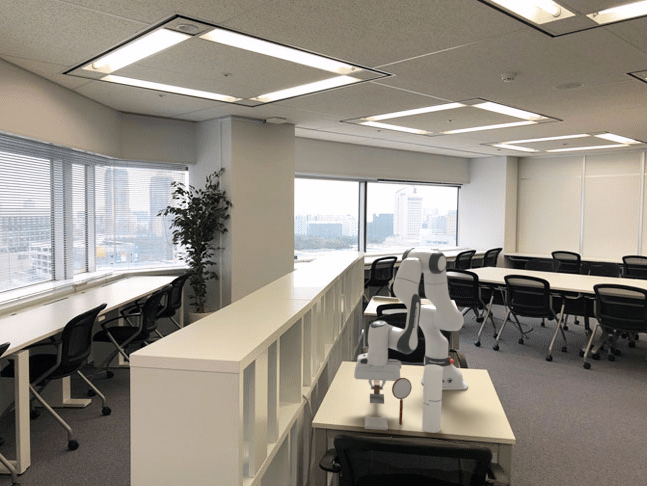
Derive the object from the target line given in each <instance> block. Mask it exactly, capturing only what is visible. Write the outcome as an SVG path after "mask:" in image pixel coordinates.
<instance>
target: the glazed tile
mask: <svg viewBox="0 0 647 486" xmlns="http://www.w3.org/2000/svg"><path fill="white" fill-rule="evenodd" d="M365 429H366V430H380V431H381V430H382V431H383V430H384V431H388V417H378V416H364V430H365Z"/></svg>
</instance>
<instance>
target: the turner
mask: <svg viewBox="0 0 647 486" xmlns="http://www.w3.org/2000/svg"><path fill="white" fill-rule="evenodd" d="M380 381H381V380H373V385H374V390H373V393H369V404H379V405H380V404H381V405H384V404H385V394H384V393H381V392H380V391H381V390H380V385H381V384H380Z"/></svg>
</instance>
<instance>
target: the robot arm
mask: <svg viewBox="0 0 647 486" xmlns="http://www.w3.org/2000/svg"><path fill="white" fill-rule="evenodd" d="M447 261H448V260H447V258H446V255H445V254H444V253H443V252H441V251H438V250H432V249H428V248H427V249H426V248H422V249H421V248H408V249H406V250H405V251H404V252H403V254H402V256H401V262H400V265H399V266H398V270H397V272H396V275H395V279H394V281H393V286H392V290H393V294H394V296H395V297H396V299H398V300H400V302H402V303H403V304H404V305H405V307H406V309H407V313H406V322H405V327H404V328H400V327H397V326H393V325H391V324H388V322H387V321H385V320H375V321H373V322H371V323H370V324H369V328H368V332H367V344H368V349H367V352H366V353H362V354H359V355H357V358H356V359H357V360H356V361H357V362H355V366H354V374H353V378H354V379H356V380H367V381H368V384H369V385H370V390H371V391H372V390H373V391H374V383H372V381H374V380H380V381H381V384H380V391H383V390H384V386H385V384H386V382H395V381H396V380H397V379H399V378H401V369H402V362H401V360H398V359H397V358H396V359H393V358H389V349H392V350H395V351H397V352H399V353H402V354H404V355H409V354H411V353H414V351H416V350H417V348H418V345H419V327H420V329H421V331H422V333H423V336H424V340H425V341H424V342H425V354H424V357H423V365H424V367H425V365H430V364H433V365H439V366H441V367H443V378H442V391H453V390H454V391H458V390H459V391H461V390H463V391H464V390H467V389H468V386H469V385H468V383H467V381H466V380H464V376H463V374H462V371H461V370H460V369H458V368H457V367H456V365H454V363H455V361H454V359H453V358H452V357H451V356H449V340H448V338H447V337H445V336H444V334H443V333H442V332H441V331H447V332H457V331H460V330H461V329H462V327H463V326H464V323H465V322H464V321H465V318H464V316H463V313H462V312H461V311H460V310H459V309H457V308H456V306H455V305H454V303H453V301H452V300H451V297H450V294H449V289H448V288H449V285H448V277H447V276H448V274H447V269H446V268H447V263H448V262H447ZM422 273H423V284H424V285H423V286H424V294H425V298H426V299H427V300H428V301H430V303H431V304H422V299H421V297H420V295H419V286H420V282H421V278H422ZM420 382H421V384H422V385H423V386H424V372H423V373H422V376H421V380H420Z"/></svg>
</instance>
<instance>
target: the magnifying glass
mask: <svg viewBox="0 0 647 486" xmlns="http://www.w3.org/2000/svg"><path fill="white" fill-rule="evenodd" d="M391 392H392V395H393V396H394V398H396V399H398V400H399V414H398V415H399V417H398V421H399V422H398V424H399V427H400V426H401V427H402V425H403V409H404V408H403V407H404V406H403V405H404V399H406V398H407V397H409V395H410V394H411V392H412V383H411V381H410V380H409V379H408V378H406V377H400V378H399V379H397V380H396V381H393V384H392V387H391Z"/></svg>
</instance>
